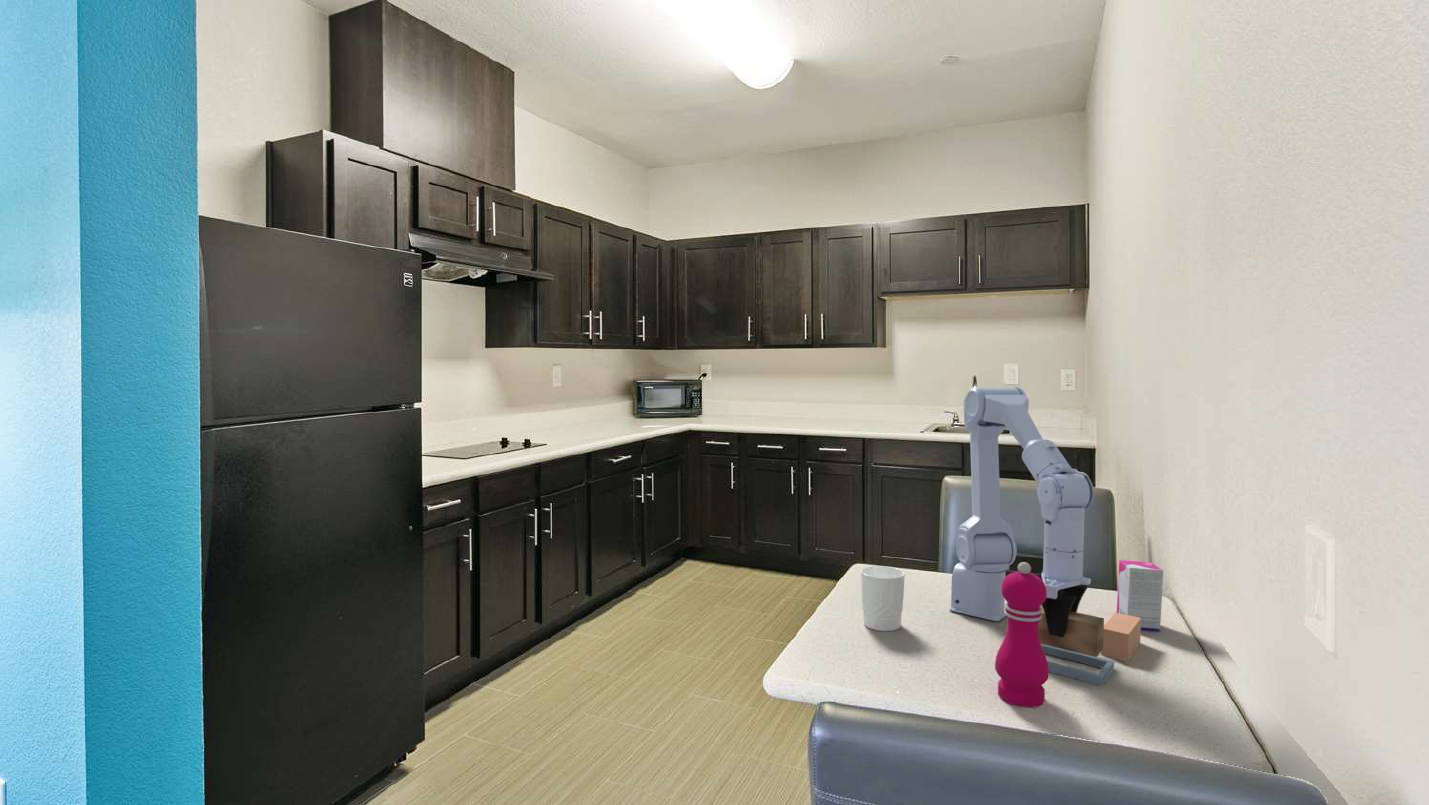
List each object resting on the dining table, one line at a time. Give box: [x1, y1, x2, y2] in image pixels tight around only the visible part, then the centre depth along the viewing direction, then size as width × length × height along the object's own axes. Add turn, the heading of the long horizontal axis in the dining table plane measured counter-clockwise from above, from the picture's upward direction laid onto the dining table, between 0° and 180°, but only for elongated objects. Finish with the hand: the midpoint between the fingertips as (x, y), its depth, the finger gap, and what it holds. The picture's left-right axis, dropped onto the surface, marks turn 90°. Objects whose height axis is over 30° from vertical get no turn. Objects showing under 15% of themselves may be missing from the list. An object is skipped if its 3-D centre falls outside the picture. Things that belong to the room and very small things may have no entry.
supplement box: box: [1115, 559, 1164, 632], centre depth 133 cm, size 6×6×12 cm
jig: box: [1040, 643, 1115, 686], centre depth 116 cm, size 15×14×1 cm
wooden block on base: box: [1038, 605, 1105, 657], centre depth 115 cm, size 11×4×5 cm, turn 49°
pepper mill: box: [994, 561, 1050, 708], centre depth 104 cm, size 7×7×20 cm
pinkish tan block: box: [1100, 612, 1142, 661], centre depth 122 cm, size 4×10×5 cm, turn 139°
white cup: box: [860, 565, 906, 632], centre depth 133 cm, size 8×8×10 cm
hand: (1060, 631), depth 115 cm, fingers closed on wooden block on base, 4 cm apart
